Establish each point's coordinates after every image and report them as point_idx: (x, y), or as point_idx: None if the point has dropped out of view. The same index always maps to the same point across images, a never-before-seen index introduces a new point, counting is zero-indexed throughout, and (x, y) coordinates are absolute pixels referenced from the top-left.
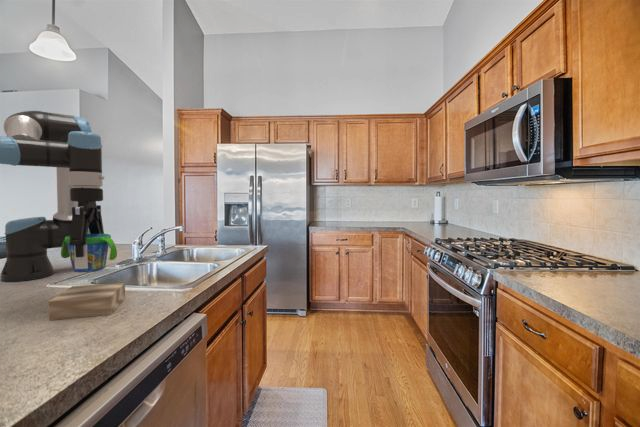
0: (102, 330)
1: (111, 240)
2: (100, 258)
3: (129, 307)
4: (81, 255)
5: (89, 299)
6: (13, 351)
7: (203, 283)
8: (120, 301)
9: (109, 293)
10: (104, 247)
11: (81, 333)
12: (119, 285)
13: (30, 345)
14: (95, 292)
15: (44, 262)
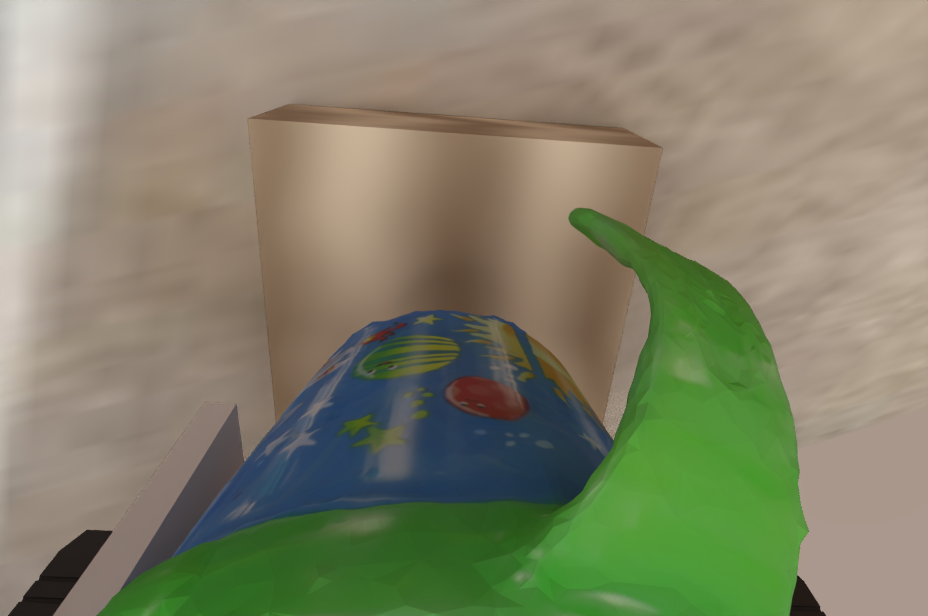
0: (881, 116)
1: (678, 448)
2: (567, 392)
3: (525, 29)
4: (804, 583)
5: (630, 278)
6: (887, 403)
7: None
8: (411, 114)
9: (564, 175)
10: (578, 457)
11: (854, 213)
12: (335, 147)
13: (863, 370)
14: (489, 280)
15: None
